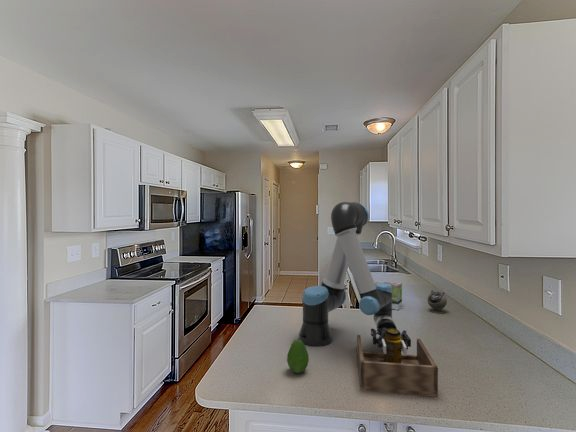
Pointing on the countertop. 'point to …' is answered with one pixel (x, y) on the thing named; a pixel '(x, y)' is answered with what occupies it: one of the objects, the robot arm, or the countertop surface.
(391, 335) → the condiment
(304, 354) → the avocado
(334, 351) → the countertop surface
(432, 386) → the tray
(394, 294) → the tea box
